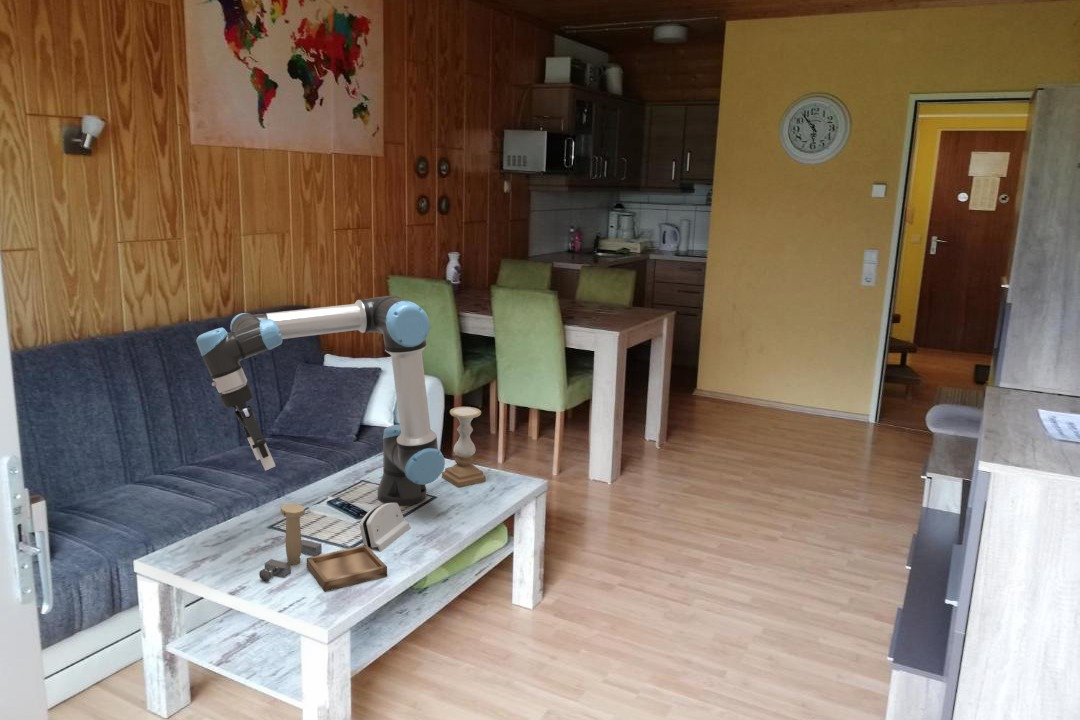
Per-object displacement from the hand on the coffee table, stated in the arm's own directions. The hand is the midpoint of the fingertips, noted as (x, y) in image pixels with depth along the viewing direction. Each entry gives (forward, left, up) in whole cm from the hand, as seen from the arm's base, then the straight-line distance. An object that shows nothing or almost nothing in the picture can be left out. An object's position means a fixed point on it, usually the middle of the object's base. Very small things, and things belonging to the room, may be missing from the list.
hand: (266, 463), depth 207 cm
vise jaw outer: (+3, +16, -24) cm, 29 cm away
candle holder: (-69, -20, -24) cm, 76 cm away
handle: (-3, +11, -24) cm, 27 cm away
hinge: (-29, +8, -24) cm, 39 cm away
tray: (-13, +22, -24) cm, 35 cm away
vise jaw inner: (-8, +8, -24) cm, 26 cm away
